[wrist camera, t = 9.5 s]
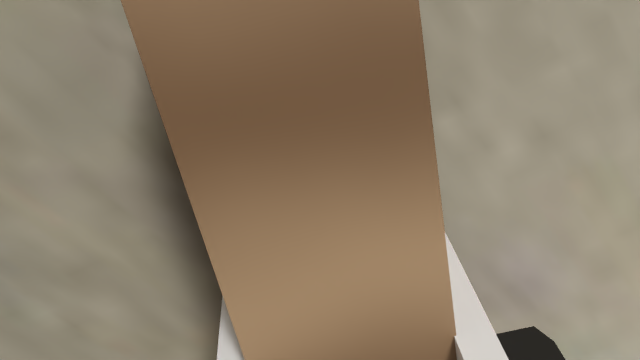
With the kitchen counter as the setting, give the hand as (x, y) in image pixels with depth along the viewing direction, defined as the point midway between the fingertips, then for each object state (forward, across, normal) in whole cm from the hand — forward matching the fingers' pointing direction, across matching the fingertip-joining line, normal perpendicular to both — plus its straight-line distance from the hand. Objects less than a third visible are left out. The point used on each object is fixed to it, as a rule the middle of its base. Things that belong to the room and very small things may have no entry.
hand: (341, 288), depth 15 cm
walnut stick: (+1, 0, 0) cm, 1 cm away
